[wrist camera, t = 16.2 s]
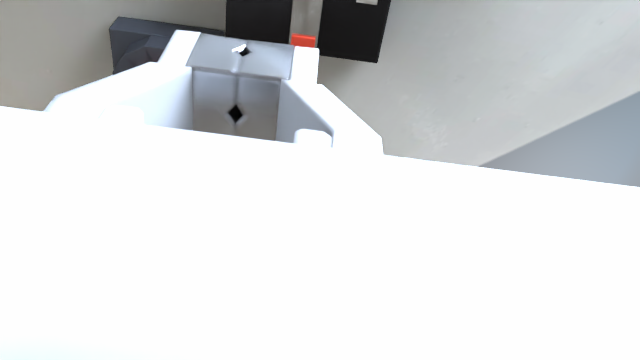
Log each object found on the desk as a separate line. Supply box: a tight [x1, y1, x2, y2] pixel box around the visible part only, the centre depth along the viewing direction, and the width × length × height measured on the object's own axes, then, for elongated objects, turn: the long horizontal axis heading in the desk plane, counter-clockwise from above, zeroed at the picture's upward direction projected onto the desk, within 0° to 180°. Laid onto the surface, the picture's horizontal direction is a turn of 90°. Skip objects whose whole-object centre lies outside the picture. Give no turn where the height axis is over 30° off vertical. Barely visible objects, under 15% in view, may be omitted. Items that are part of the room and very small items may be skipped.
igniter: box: [109, 17, 225, 75], centre depth 43 cm, size 8×7×4 cm
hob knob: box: [288, 0, 323, 49], centre depth 36 cm, size 5×2×4 cm, turn 173°
